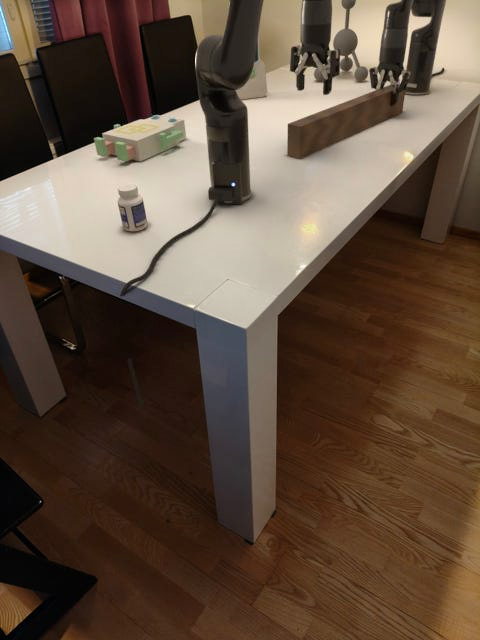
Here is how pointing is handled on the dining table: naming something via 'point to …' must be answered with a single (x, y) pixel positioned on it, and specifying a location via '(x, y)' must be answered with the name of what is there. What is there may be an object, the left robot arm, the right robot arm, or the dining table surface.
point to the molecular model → (346, 47)
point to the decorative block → (141, 138)
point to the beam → (341, 121)
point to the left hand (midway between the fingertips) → (313, 92)
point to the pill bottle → (131, 208)
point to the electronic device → (255, 79)
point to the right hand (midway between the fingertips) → (385, 104)
